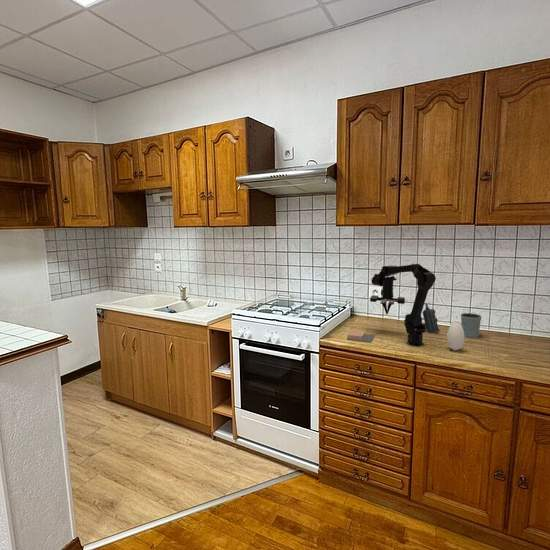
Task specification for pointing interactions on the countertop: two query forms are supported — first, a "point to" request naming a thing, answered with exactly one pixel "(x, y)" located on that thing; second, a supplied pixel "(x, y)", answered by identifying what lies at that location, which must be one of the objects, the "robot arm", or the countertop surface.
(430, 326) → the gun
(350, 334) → the tile
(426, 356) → the countertop surface
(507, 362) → the countertop surface
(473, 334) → the grey plant pot
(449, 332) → the sauce bottle
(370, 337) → the mat
